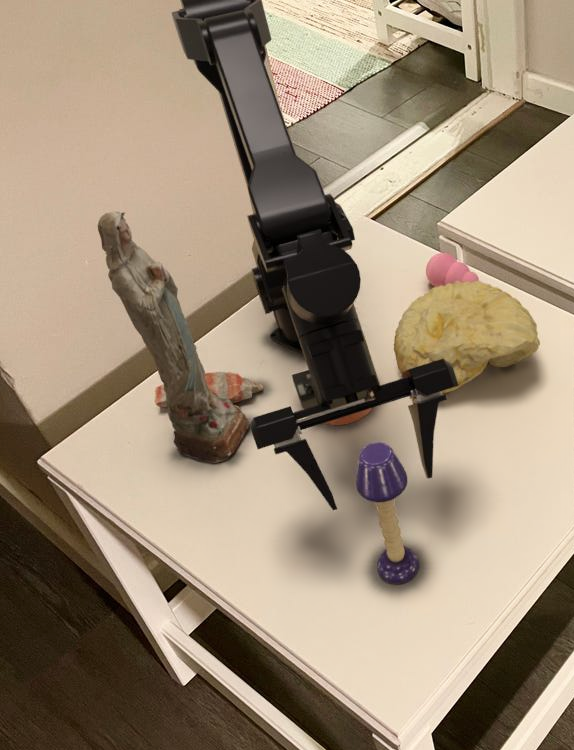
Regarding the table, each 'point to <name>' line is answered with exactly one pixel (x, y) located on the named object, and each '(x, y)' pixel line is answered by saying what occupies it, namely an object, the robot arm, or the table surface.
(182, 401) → the statue
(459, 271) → the dog chew toy
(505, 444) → the table surface
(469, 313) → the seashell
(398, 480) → the toy lamp
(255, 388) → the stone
